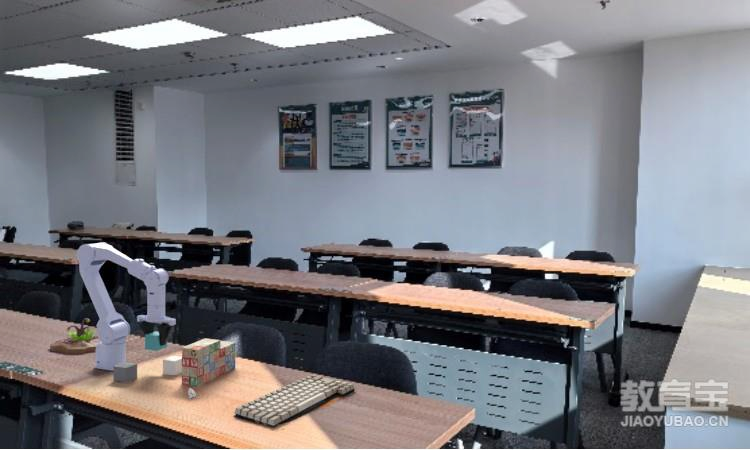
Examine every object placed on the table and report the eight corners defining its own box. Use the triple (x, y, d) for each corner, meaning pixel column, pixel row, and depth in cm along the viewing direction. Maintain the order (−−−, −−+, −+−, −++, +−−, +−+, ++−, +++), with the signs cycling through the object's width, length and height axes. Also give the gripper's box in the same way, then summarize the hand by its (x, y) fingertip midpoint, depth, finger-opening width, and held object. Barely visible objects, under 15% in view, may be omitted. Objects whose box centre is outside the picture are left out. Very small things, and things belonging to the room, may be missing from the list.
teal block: (145, 349, 192) (145, 334, 192) (155, 345, 197) (155, 331, 197) (157, 350, 191) (157, 336, 190) (167, 347, 195) (167, 332, 195)
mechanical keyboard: (281, 433, 148) (282, 421, 148) (228, 418, 157) (228, 406, 157) (357, 392, 180) (358, 382, 180) (309, 381, 190) (309, 371, 190)
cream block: (162, 374, 192) (162, 359, 191) (172, 369, 196) (172, 355, 196) (175, 376, 190) (175, 361, 190) (184, 371, 195) (184, 357, 194)
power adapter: (186, 397, 171) (186, 387, 171) (194, 396, 173) (194, 386, 173) (190, 400, 169) (190, 390, 169) (198, 399, 170) (198, 388, 170)
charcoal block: (113, 381, 183) (113, 366, 183) (124, 376, 188) (124, 361, 188) (126, 383, 182) (126, 368, 181) (137, 378, 186) (137, 363, 186)
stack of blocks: (220, 366, 202) (220, 332, 201) (235, 368, 200) (236, 333, 199) (181, 384, 182) (181, 346, 181) (197, 387, 180) (198, 349, 179)
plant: (121, 345, 227) (121, 317, 226) (78, 357, 209) (78, 327, 208) (87, 338, 235) (87, 311, 235) (42, 349, 217) (42, 321, 217)
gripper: (130, 304, 191) (130, 344, 192) (166, 308, 187) (165, 349, 188) (145, 301, 198) (145, 339, 199) (179, 304, 194) (179, 344, 194)
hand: (156, 344), depth 194 cm, fingers closed on teal block, 5 cm apart
